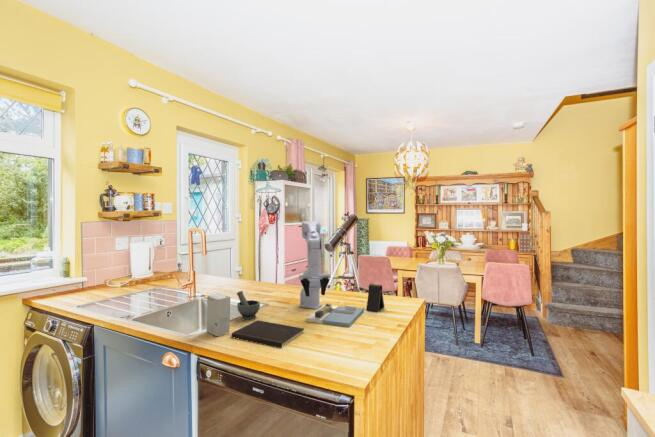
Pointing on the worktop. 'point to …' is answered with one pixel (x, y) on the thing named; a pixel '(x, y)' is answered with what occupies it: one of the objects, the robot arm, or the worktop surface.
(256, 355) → the worktop surface
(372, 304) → the phone stand
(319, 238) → the robot arm
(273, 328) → the hardcover book
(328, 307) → the swing bar
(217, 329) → the skincare box
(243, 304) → the mortar and pestle
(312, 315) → the jamb plate
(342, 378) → the worktop surface
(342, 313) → the door panel
